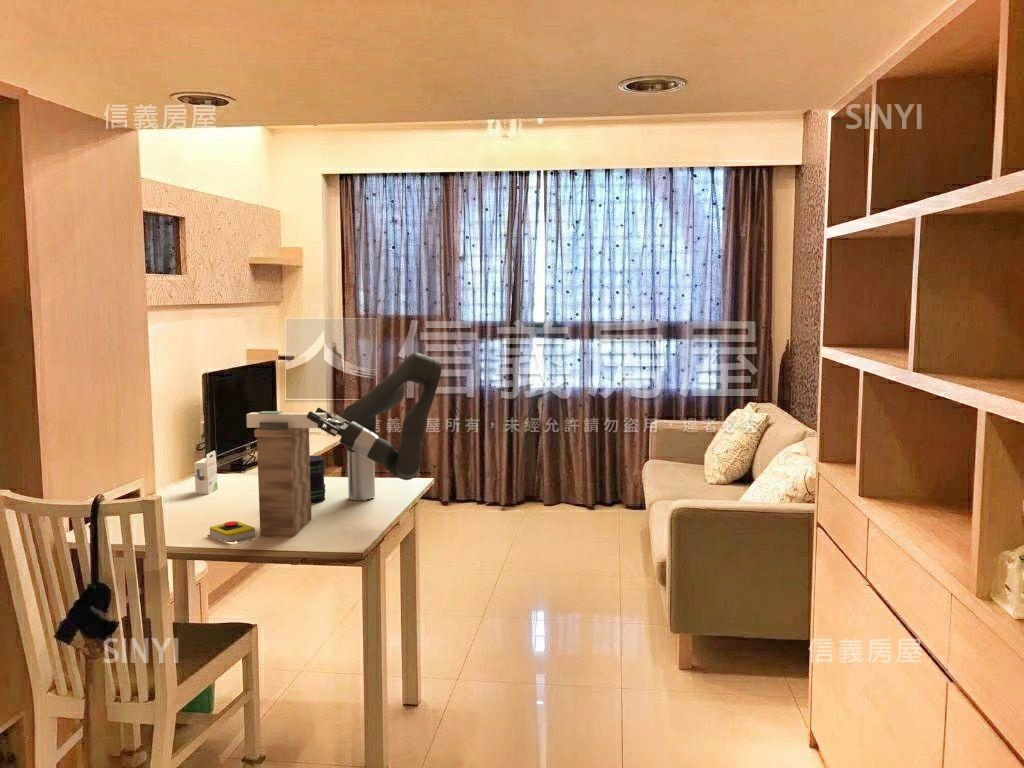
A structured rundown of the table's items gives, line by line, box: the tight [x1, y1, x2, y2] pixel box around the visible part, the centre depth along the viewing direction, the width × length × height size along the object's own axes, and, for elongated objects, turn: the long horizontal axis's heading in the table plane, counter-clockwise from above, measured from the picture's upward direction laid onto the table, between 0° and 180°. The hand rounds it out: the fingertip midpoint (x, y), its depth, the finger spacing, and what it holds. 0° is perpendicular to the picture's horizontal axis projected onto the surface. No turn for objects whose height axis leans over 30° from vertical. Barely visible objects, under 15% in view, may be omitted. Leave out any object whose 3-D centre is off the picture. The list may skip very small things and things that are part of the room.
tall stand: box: [253, 422, 312, 537], centre depth 240 cm, size 19×11×34 cm, turn 178°
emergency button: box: [209, 520, 260, 544], centre depth 233 cm, size 9×4×15 cm
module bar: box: [245, 410, 327, 429], centre depth 236 cm, size 4×23×4 cm, turn 88°
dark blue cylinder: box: [310, 455, 326, 505], centre depth 275 cm, size 10×10×15 cm
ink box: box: [193, 450, 219, 495], centre depth 288 cm, size 9×5×15 cm, turn 178°
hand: (312, 412), depth 235 cm, fingers open, 8 cm apart
